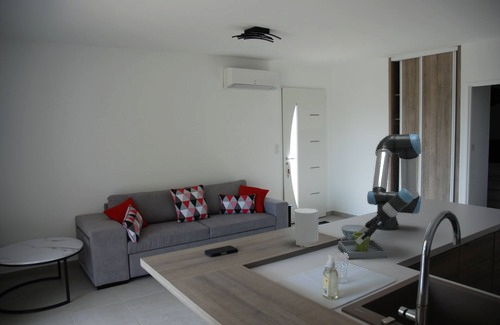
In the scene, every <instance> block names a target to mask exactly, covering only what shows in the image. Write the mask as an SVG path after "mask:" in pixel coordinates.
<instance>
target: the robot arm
mask: <svg viewBox="0 0 500 325" xmlns="http://www.w3.org/2000/svg"><path fill="white" fill-rule="evenodd" d="M393 154H395V155H397V157H398V158H399V159H400V176H401V177H400V178H401V180H400V182H401V183H400V184H401V189H400V190H399V191H398V192H396V191H387V190H388V181H389V180H388V179H389V178H388V177H389V169H390V159H391V158H392V156H393ZM420 154H422V143H421V138H420V135H418V134H417V133H416V134H414V133H413V134H412V133H405V134H402V133H401V134H397V133H396V134H387V135H386V136H385V137H383V138H382V139H381V140H380V141H379V143H378V144H377V146H376V148H375V154H374V155H375V156H376V160H375V166H374V176H373V182H372V190H368V191H367V195H366V196H367V197H366V198H367V199H366V201H367V203H368V204H369V205H372V206H377V210H376V215H375V216H374V217H372V218H371V219H369V220H368V221H367V222H366V223H365V225H363V226H364V227H362V228H361V229H360V230H359V231H358V232H363V233H364V234H362V235H361V236H360V237H359V238H358V239H357V240H356V242H357V243H358V244H359V245H360V244H361V243H362V242H363V241H364V240H365V239H366V238H368V237H370V236H371V237H372V235H373V234H374V233H375V232H377V230H381V231H394V230H395V231H396V230H398V229H399V228H400V227H399V226H400V225H399V221H398V218H397V216H398V215H399V214H411V215H413V214H416V215H417V214H419V213H420V212H421V211H420V210H421V203H422V195H420V192H418V190H417V158H419V155H420ZM398 213H399V214H398ZM367 228H368V229H367ZM358 232H357V233H358ZM371 237H370V238H371Z"/></svg>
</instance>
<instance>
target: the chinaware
mask: <svg viewBox="0 0 500 325" xmlns="http://www.w3.org/2000/svg"><path fill="white" fill-rule="evenodd" d="M364 226H365V225H361V224H345V225H342V226H341V232H342V234H343V236H344V237H345V238H346V239H347V240H348V241H354V240H355V239H354V236H353V234H354V233H357V232H358V231H359V230H360V229H361V228H362V227H364ZM367 229H368V228H367Z"/></svg>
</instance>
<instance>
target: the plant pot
mask: <svg viewBox="0 0 500 325" xmlns="http://www.w3.org/2000/svg"><path fill="white" fill-rule="evenodd" d="M362 234H364V233H363V232H358V233H354V234H353V236H354V239H355V247H356V251H359V252H365V251H368V245H369V240H371V237H372V235H371V236H370V237H368V238H366V239H365V240H364V241H363V242H362V243H361V244H360V245H359V244H358V243H357V242H356V240H357V239H358V238H359V237H360V236H361V235H362Z"/></svg>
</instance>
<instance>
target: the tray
mask: <svg viewBox="0 0 500 325" xmlns="http://www.w3.org/2000/svg"><path fill="white" fill-rule="evenodd" d="M337 244H338V249H339V250H340V249H341V250H342V251H341V250H340V251H341V252H342V253H343V252H345V253H347V254H348V256H349V260H364V259H365V260H366V259H368V260H369V259H387V258H388V251H387V249H385V248H384V247H383V246H382V245H380V244H379V243H378V242H376V240H374V239H369V245H368V251H365V252H359V251H356V247H355V240H354V241H349V240H338V243H337Z"/></svg>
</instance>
